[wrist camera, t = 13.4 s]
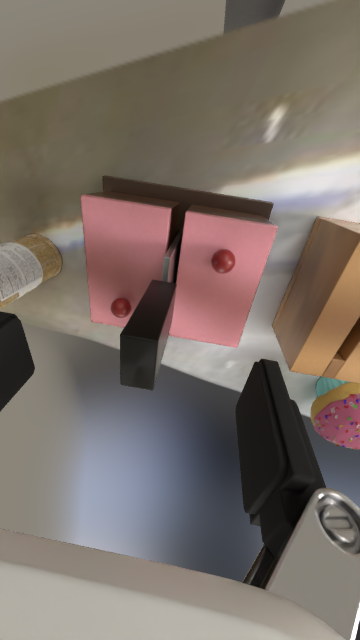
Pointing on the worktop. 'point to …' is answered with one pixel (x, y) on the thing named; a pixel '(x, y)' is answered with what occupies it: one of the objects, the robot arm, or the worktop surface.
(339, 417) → the cupcake
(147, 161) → the worktop surface
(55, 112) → the worktop surface
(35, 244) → the sprinkles bottle
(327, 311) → the knife block
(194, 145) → the worktop surface
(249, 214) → the pink double-door cabinet
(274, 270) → the worktop surface
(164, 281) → the knife
